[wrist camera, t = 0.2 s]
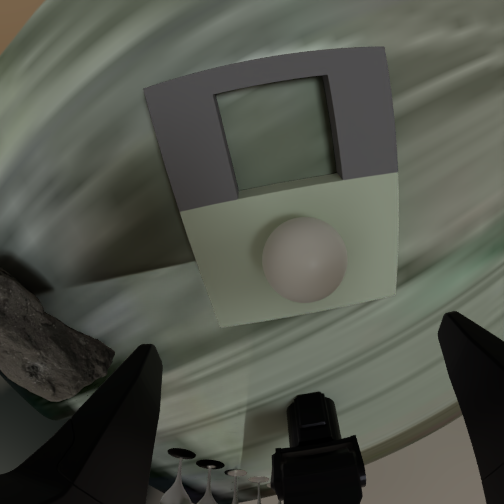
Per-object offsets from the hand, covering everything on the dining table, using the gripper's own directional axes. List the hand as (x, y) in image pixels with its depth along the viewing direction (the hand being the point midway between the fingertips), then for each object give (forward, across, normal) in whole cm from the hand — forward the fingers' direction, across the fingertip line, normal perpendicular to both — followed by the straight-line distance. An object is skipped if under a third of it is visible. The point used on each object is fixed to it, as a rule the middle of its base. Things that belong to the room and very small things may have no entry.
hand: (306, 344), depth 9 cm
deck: (+14, -1, +1) cm, 14 cm away
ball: (+10, -1, +3) cm, 10 cm away
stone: (+12, +20, +5) cm, 24 cm away
